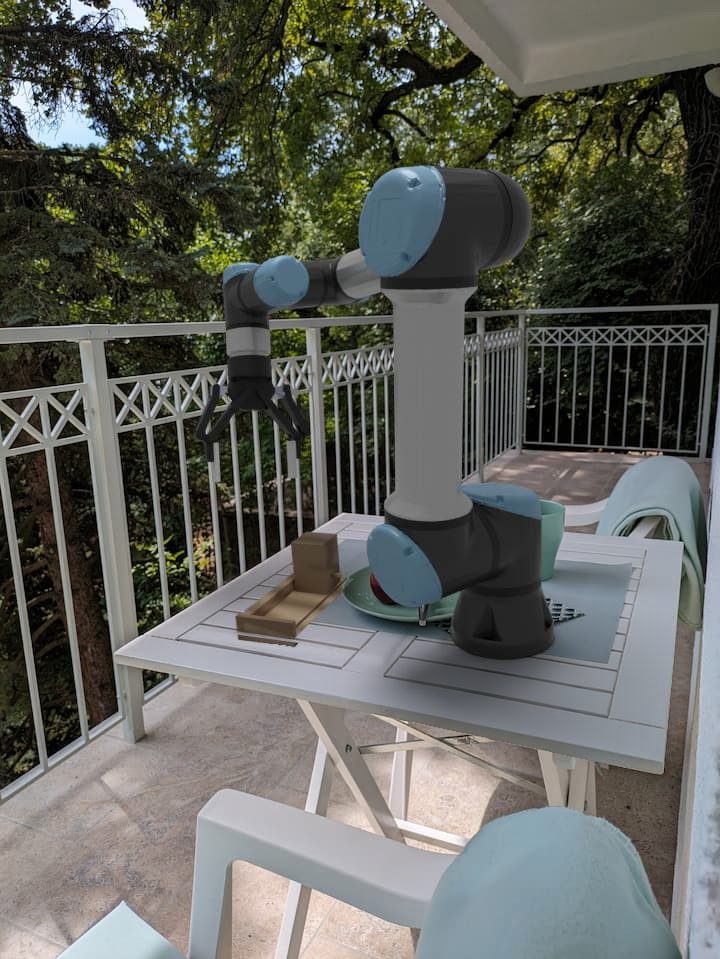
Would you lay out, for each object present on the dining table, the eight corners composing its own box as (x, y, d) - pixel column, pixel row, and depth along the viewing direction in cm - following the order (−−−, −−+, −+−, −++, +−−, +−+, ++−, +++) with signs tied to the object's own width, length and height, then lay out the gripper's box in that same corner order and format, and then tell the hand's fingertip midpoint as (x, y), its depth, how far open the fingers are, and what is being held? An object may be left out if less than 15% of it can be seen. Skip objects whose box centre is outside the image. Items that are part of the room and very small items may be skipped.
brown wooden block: (310, 578, 133) (306, 531, 131) (348, 582, 130) (345, 534, 128) (295, 591, 128) (290, 542, 125) (335, 595, 125) (330, 546, 122)
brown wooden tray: (306, 581, 136) (304, 561, 135) (356, 586, 132) (354, 565, 131) (238, 639, 115) (235, 616, 114) (294, 647, 111) (292, 623, 110)
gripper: (309, 361, 134) (315, 477, 134) (171, 359, 124) (178, 483, 124) (324, 354, 128) (330, 476, 128) (180, 351, 117) (186, 483, 117)
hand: (255, 480), depth 126 cm, fingers open, 13 cm apart
